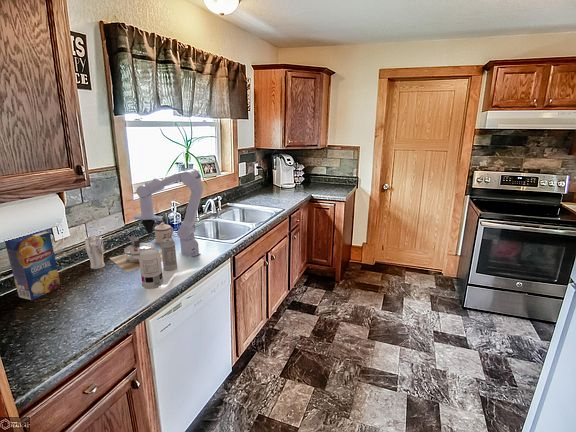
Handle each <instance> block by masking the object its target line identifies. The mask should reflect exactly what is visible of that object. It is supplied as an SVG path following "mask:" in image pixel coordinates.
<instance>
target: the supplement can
mask: <svg viewBox="0 0 576 432" xmlns="http://www.w3.org/2000/svg"><path fill="white" fill-rule="evenodd" d="M158 250H159V249H158ZM158 250H157V248H156V249H146V250H143V251H141V252H140V255H139V263H140V268H139V270H140V278H141V283H142V284H141V285H142V287H143V288H145V289H146V290H147V289H149V290H151V289H157V288H159V287H161V286H162V284H163V283H164V277H163V268H162V262H161V258H160V253H159V252H158Z"/></svg>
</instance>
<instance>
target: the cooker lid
mask: <svg viewBox="0 0 576 432" xmlns="http://www.w3.org/2000/svg"><path fill="white" fill-rule="evenodd" d="M129 240H130V243H131V244H130V245H127V246H126V247H125V248H124V249H123V251H124V254H125V253H126V254H128V255H140V252H141V251H143V250H146V249H154V248H155V244H154V243H150V242H140V240H139V239H138V237H136V236H135V235H134V236H129Z"/></svg>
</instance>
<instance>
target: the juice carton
mask: <svg viewBox="0 0 576 432" xmlns="http://www.w3.org/2000/svg"><path fill="white" fill-rule="evenodd" d="M39 231H40V232H36V233H33V234H30V235H27V236H23V237H19V238H16V239H12V240H8V241H5V240H4V244H5V247H6V252H7V255H8V260H9V263H10V267H11V271H12V276H13V279H14V283H15V288H16V292H17V297H18V298H21V299H25V300H30V301H34V300H36V299H37V298H40V297H42V296H44V295H46V294H47V293H48V294H49V293H50V292H52V291H54V290H56V289H58V288H61V287H62V284H61V280H60V275H59V271H58V266H57V262H56V256H55V251H54V246H53V242H52V237H51V232H50V231H46V230H45V231H44V230H39Z"/></svg>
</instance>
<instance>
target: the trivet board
mask: <svg viewBox="0 0 576 432" xmlns="http://www.w3.org/2000/svg"><path fill="white" fill-rule="evenodd" d="M154 249H157V248H156V247H154ZM157 250H158V252H159V253H160V258H161V263H163V259H162V250H161V251H160V249H157ZM109 259H110V260H111V261H112V262H114V263H115V264H116V265H117V266H118V267H120V268H121V269H122V270H123V271H124V272H126V273H128V272H132V271H135V270H138V269H139V270H140V263H139V264H132V263H128V262H127V261H126V254H125V253H123V254H121V255H117V256H113V257H109Z"/></svg>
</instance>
